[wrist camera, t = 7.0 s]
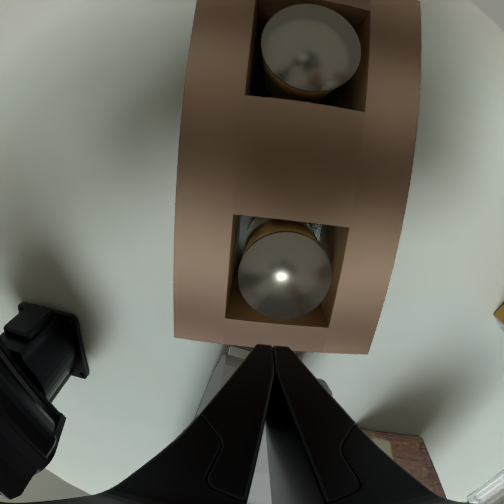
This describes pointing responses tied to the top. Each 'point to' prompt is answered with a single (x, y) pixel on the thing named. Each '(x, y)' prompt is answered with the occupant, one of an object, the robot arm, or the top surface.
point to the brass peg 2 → (283, 268)
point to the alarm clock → (260, 487)
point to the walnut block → (293, 173)
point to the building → (489, 492)
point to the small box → (500, 317)
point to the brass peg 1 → (308, 52)
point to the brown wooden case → (409, 457)
